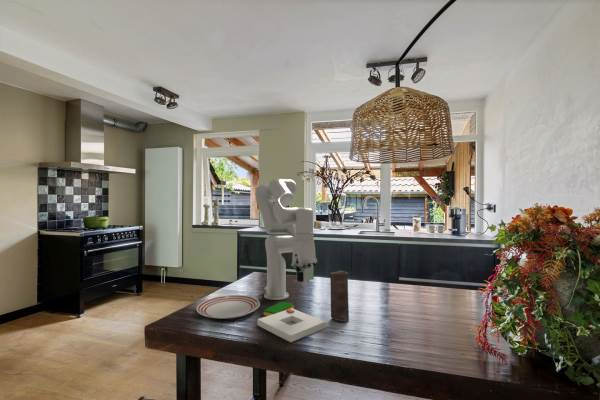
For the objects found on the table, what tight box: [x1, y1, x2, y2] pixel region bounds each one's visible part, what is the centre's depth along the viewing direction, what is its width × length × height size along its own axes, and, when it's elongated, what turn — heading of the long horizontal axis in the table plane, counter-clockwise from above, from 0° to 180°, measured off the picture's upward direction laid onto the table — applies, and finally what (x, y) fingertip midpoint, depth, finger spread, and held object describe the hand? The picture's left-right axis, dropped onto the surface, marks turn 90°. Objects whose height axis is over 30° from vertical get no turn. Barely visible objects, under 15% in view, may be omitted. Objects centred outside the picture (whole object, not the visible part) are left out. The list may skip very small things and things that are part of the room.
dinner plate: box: [196, 294, 261, 320], centre depth 137 cm, size 27×27×3 cm
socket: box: [257, 308, 327, 343], centre depth 120 cm, size 20×18×3 cm
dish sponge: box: [263, 301, 295, 317], centre depth 137 cm, size 7×14×2 cm, turn 149°
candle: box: [329, 270, 350, 323], centre depth 127 cm, size 8×7×20 cm
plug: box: [299, 264, 314, 283], centre depth 130 cm, size 6×5×7 cm
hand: (304, 279), depth 130 cm, fingers closed on plug, 5 cm apart
